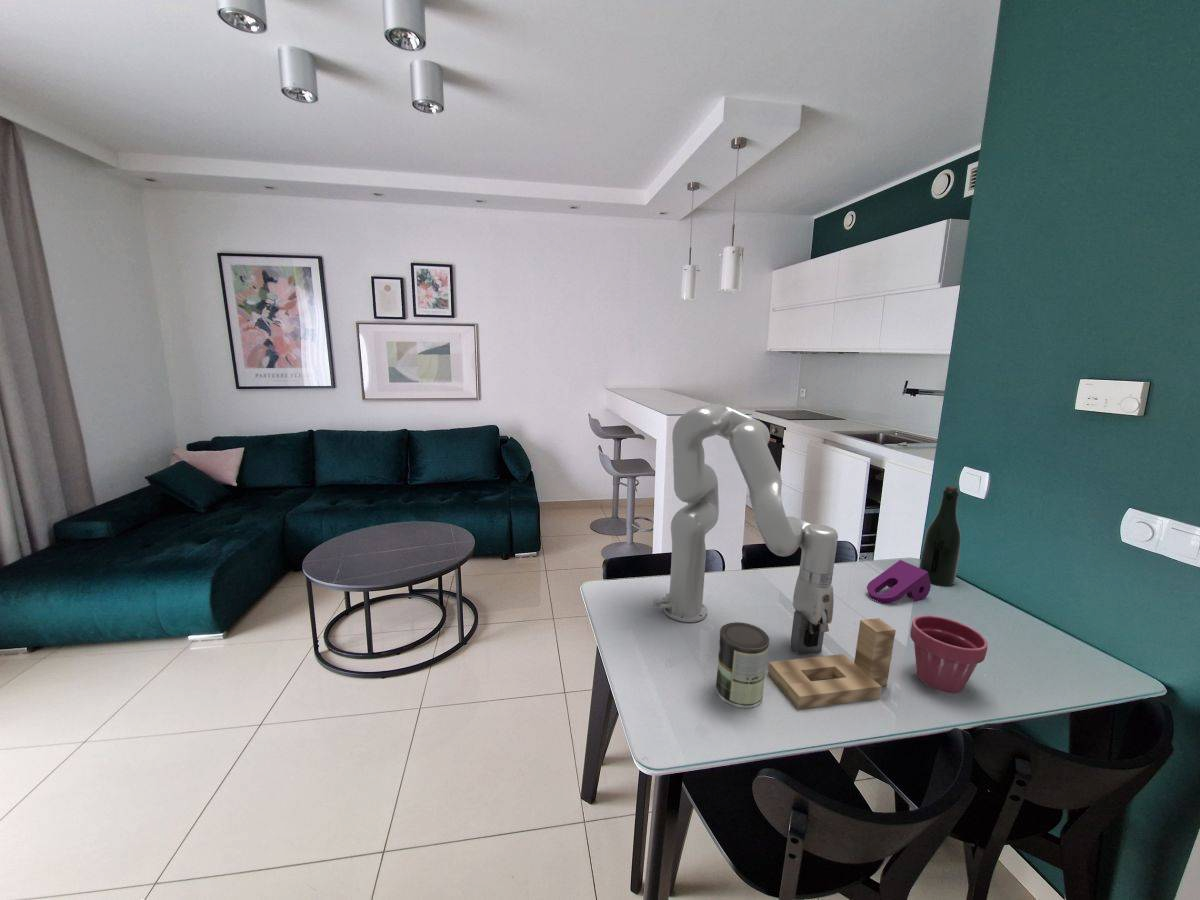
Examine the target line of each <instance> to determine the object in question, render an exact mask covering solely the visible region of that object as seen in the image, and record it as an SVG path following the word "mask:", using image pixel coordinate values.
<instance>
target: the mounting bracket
mask: <svg viewBox="0 0 1200 900" xmlns="http://www.w3.org/2000/svg"><path fill="white" fill-rule="evenodd" d="M931 584H932V583H930V579H929V574H928V572H927V571H925V570H923V569H921V568H919V567H918V566H915V565H913V564H911V563H909V562H907V561H904V560H902V559H900V560H898V561H897V562H895V563H894V564H893V565H891V566H889V567H888V568H886V570H884V571H883V572H882V573H880V574H879V575H877V576H876V577H874V578H873V579H872V580H870V581H869V582H868V584H867V585H866V591H867V595H868V597H869V596H870V597H871V598H872V599H871V598H870V597H869V598H870V599H871V600H873V599H874V600H873V601H875V600H876V601H875V602H877V601H878V602H877V603H879V602H881V603H880V604H893V603H896V602H898V601H899V600H900V599H902V598H903V597H904V596H907V597H908V598H909V599H911V600H913V601H916V602H918V601H919V602H920V601H924V600H925V599H926V598H927V596H928V595H929V593H930V592H931V587H932V585H931ZM886 587H888V590H886V591H885V592H884V593H879V592H881V591H883V589H885V588H886Z"/></svg>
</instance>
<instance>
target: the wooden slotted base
mask: <svg viewBox="0 0 1200 900" xmlns="http://www.w3.org/2000/svg"><path fill="white" fill-rule="evenodd" d="M858 627H859V629H858V635H857V641H856V642H857V643H856V647H855V655H854V661H853V660H852V659H851V658H849V657H848V655H846V654H845V653H841V654H840V653H839V654H831V655H822V656H812V657H805V658H804V657H802V658H795V659H784V660H777V661H776V660H775V661H769V662H768V671H767V674H768V676H769V677H770V678H772V680H773V682H775V684H776V685H777V686H778V687H779V689H780V690H781V691H782V692H783V693H784V694H785V696H786V697H787V698H788V699H789V701H791V703H792V704H793V705H794V706H795V707H796V709H797V708H798V710H801V709H811V708H819V707H825V706H831V705H833V706H835V705H839V704H840V705H841V704H847V703H855V702H862V701H870V700H877V699H880V698H881V690H882V687H885V686H888V682H889V676H890V675H889V673H890V670H891V669H890V668H891V662H892V655H893V649H894V642H895V637H896V631H897V630H896V629H895V628H894V627H892V626H891V625H890V624H888V623H886V621H884V620H882V619H881V618H880V617H879V618H876V617H875V618H870V619H869V618H868V619H860V620H859V626H858ZM818 706H819V707H818Z"/></svg>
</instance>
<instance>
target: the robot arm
mask: <svg viewBox="0 0 1200 900" xmlns="http://www.w3.org/2000/svg"><path fill="white" fill-rule="evenodd" d="M713 436H719V437H721V438H723V439H725V440H728V443H729V446H730V447H729V448H730V449H731V451H732V454H733V455H734V458H735V460H736V462H737V464H738V467H739V469H740V472H741V474H742V476H743V478H744V479H743V480H744V481H745V483H746V486H747V488H748V493H749V494H748V495H749V499H750V504H751V509H752V513H753V518H754V520H755V523H756V526H757V528H758V530H759V533H760V536H761V537H762V539H763V540H762V541H763V542H764V543H765V546H766V547H767V548H768V550H769V551H770V552H771V553H773V554H774V555H776V556H778V557H789V556H792V555H793V554H795V552H796V551H797V550H798V548H800V549H801V555H800V562H799V563H800V564H799V570H798V575H797V579H796V582H795V585H794V591H793V598H792V599H793V600H792V606H793V608H794V611H800V612H801V613H802V614H804V615H805V616H806V617H807V619H808V620H809V631H808V632H807V633H806V641H805V646H806V647H814V646H817V645H818V638H819V633H821V632H824V633H828V632H829V631H830V629H829V628H830V627H829V624H830V625H831V623H833V614H834V601H835V600H834V599H835V598H834V596H835V595H834V587H833V585H832V582H833V573H834V568H835V559H836V553H837V547H838V540H839V539H838V537H839V536H838V535H839V534H838V532H837V530H836V529H835V528H834V527H831V526H829V525H826V524H820V523H816V524H815V523H811V522H808V521H805V520H803V519H800V518H797V517H795V516H787V515H786V512H785V509H784V505H783V500H782V487H783V486H782V482H783V481H782V475H781V472H780V471H779V468H778V466H777V464H776V461H775V459H774V457H773V455H772V453H771V450H770V448H769V446H768V445H769V442H770V439H771V433H770V431H769V428H768V427H767V425H766V424H765V423H763V422H762V421H760V420H758V419H756V418H754V417H752V416H749V415H747V414H746V413H742V412H740V411H737V410H736V409H733V408H731V407H729V406H726V405H724V404H722V403H720V404H719V403H711V404H705V405H700V406H698V407H694V408H692V409H689V410H688V411H686V412H685V413H683V414H682V415H681V416H679V418H678V419H677V420H676V421H675V424H674V425H673V429H672V436H671V437H672V439H671V440H672V441H671V442H672V462H673V463H672V464H673V465H672V466H673V470H672V471H673V488H674V489H673V490H674V493H675V496H676V497H677V498H678V499H679V501H681V502H684V503H687V505H684V506H683V507H682V508H680V509H679V510H677V512H676V513H675V514H674V516H673V517H672V518H671V519H672V520H671V522H670V534H671V563H670V565H671V566H670V577H669V578H670V580H669V591H668V593H666V595H665V597H663V598H653V599H652V606H653V607H656V606H657V607H659V609H660V610H662V611H663V612H664V614H665V615H666V616H667V617H669V618H671V619H673V620H675V621H678V622H681V623H695V622H696V623H697V622H700V621H703V620H704V619H706V617H707V616H708V609H707V607H706V605H705V604H704V603H703V600H704V599H703V598H704V587H705V585H704V584H705V571H706V560H707V559H706V558H707V554H706V553H707V551H706V550H707V549H706V535H707V534H708V532H710V531H711V530H712V529H713V528H714V527H715V526H716V525H717V522H718V521H719V512H720V511H719V507H720V505H719V482H718V476H717V474H716V471H715V470H714V469H713V468H712V467H711V466H710V465H708V464H706V463H705V447H704V446H703V441H704V440H705V439H707V438H710V437H713ZM814 624H815V625H817V626H816V627H814Z"/></svg>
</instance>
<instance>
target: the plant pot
mask: <svg viewBox="0 0 1200 900" xmlns="http://www.w3.org/2000/svg"><path fill="white" fill-rule="evenodd" d="M910 627H911V628H910V633H909V634H910V635H909V636H910V639H911V640H912V642H913V645H914V656H915V668H916V675H917V677H918V678H919V680H920V681H921V682H922V683H924V684H925V685H927V686H928V687H931V688H932V689H935V690H937V691H940V692H943V693H948V694H958V693H961V692H962V691H964V688H965V687H966V685H967V683H968V682H969V680H970V678H971V676H972V675H973V673H974V671H975V669H976V668H977V665H978V664H980V663H982V662H983V661H985V658H986V656H987V651H988V646H989V645H988V641H987V638H985V637H984V636H983V635H982V634H981V633H980V632H978V630H975V628H972V627H970V626H968V625H966V624H964V623H961V622H959V621H956V620H954V619H950V618H946V617H943V616H936V615H919V616H916V617H914V618H913V619H912V622H911V625H910Z"/></svg>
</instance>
